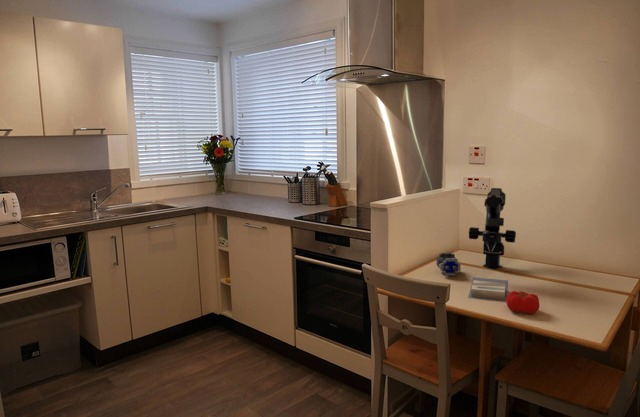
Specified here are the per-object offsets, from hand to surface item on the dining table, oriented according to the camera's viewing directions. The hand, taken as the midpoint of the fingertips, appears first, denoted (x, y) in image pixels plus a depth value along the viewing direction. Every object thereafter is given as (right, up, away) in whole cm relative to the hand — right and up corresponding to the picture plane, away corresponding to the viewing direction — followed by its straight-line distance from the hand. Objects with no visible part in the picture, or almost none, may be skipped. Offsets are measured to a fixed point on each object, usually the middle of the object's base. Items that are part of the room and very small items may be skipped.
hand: (490, 251), depth 197 cm
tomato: (0, -19, -30) cm, 35 cm away
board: (-3, -13, -7) cm, 15 cm away
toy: (-14, -12, +15) cm, 24 cm away
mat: (-3, -15, -7) cm, 16 cm away
